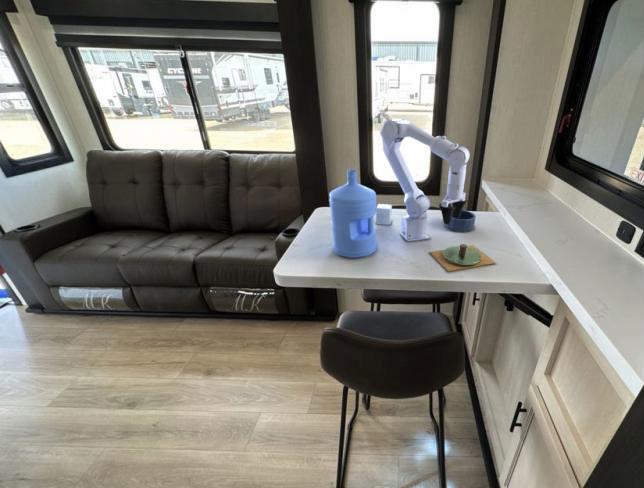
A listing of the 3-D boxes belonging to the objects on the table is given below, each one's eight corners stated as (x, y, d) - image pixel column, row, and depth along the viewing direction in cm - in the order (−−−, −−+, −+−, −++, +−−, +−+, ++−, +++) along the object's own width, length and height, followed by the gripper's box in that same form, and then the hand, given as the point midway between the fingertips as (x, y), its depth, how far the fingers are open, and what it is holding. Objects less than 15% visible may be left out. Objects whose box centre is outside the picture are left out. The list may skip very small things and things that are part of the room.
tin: (453, 233, 126) (455, 221, 124) (440, 222, 136) (441, 211, 133) (479, 230, 130) (481, 218, 127) (464, 220, 140) (465, 208, 137)
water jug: (325, 253, 108) (316, 173, 94) (347, 237, 120) (343, 163, 106) (364, 262, 103) (362, 179, 89) (383, 244, 116) (384, 168, 102)
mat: (448, 271, 99) (448, 270, 99) (430, 253, 111) (430, 252, 111) (494, 263, 105) (494, 262, 105) (472, 246, 116) (472, 245, 116)
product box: (378, 219, 138) (378, 203, 134) (391, 220, 137) (392, 204, 134) (376, 224, 133) (375, 208, 129) (389, 225, 132) (390, 209, 128)
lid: (454, 269, 100) (456, 257, 98) (436, 251, 111) (437, 240, 109) (488, 263, 104) (491, 251, 102) (468, 246, 115) (469, 235, 113)
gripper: (456, 190, 99) (451, 229, 106) (475, 182, 110) (469, 217, 116) (437, 186, 103) (434, 224, 110) (457, 178, 113) (452, 213, 120)
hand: (451, 220), depth 113 cm, fingers open, 7 cm apart
